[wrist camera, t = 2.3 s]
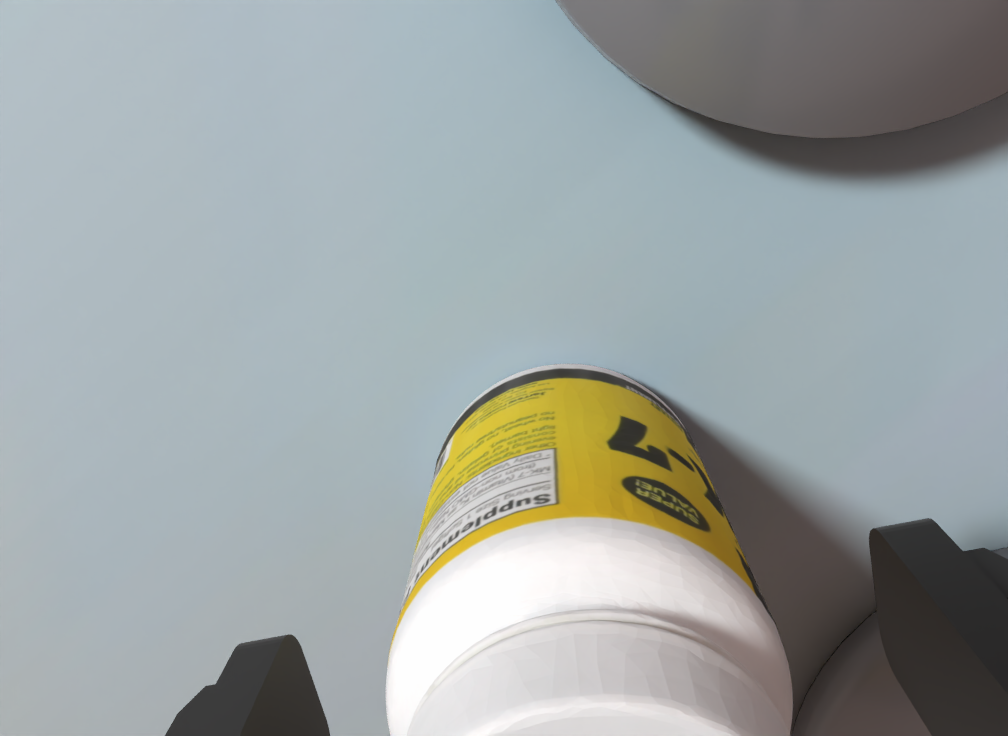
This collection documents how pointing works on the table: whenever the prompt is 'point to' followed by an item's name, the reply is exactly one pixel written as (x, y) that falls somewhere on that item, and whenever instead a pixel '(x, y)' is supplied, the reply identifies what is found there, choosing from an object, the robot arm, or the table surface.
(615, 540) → the supplement bottle
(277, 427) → the table surface
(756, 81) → the dish high side
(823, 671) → the dish low side
